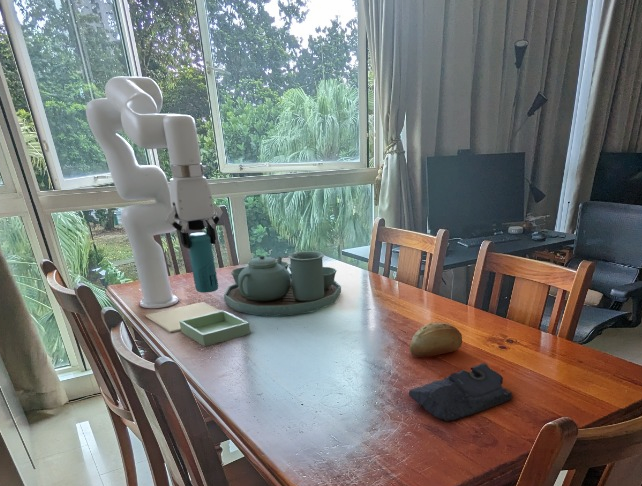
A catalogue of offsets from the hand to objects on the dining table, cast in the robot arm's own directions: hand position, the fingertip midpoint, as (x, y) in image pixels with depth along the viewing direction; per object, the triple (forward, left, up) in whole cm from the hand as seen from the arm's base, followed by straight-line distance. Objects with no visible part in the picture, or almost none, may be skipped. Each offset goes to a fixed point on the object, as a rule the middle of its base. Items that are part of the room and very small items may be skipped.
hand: (199, 244), depth 138 cm
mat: (-19, 0, -25) cm, 31 cm away
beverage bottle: (0, 0, -14) cm, 14 cm away
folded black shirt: (+75, +21, -25) cm, 82 cm away
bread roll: (+55, +36, -25) cm, 71 cm away
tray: (0, 0, -25) cm, 25 cm away
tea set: (-14, +33, -25) cm, 44 cm away
